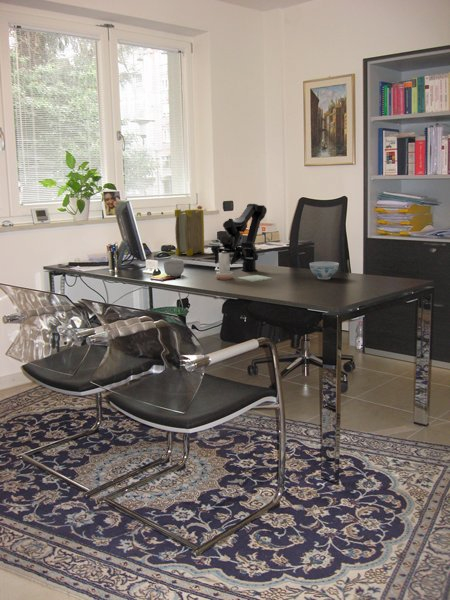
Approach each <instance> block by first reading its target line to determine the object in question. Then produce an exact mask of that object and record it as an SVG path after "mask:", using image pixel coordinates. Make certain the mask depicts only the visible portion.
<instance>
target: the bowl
mask: <svg viewBox="0 0 450 600" xmlns="http://www.w3.org/2000/svg"><path fill="white" fill-rule="evenodd" d="M215 278H217V280H222V281H225V280H231V279H233V278H234V273H233V274H231V275H217V274H215Z"/></svg>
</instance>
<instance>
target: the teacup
mask: <svg viewBox="0 0 450 600" xmlns="http://www.w3.org/2000/svg"><path fill="white" fill-rule="evenodd" d="M184 264H185V263H184V260H183V259H182V260H181V259H174V260H173V259H172V260H166V261H164V262H163V271H164V273H165V275H167V276H168V275H170V276H174V277H180V276H181V275H183V273H184V271H185V267H184V266H185V265H184ZM170 276H169V277H170Z"/></svg>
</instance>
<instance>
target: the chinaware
mask: <svg viewBox="0 0 450 600" xmlns="http://www.w3.org/2000/svg"><path fill="white" fill-rule="evenodd" d="M339 265H340V263H339V262H336V261H313V262H309V268H310V271H311V273H312V274H313V275H314V276H316V277H317V279H318V280H330V279H331V278H332V277H333V276H334V275H335V274H336V273H337V272H338V269H339Z"/></svg>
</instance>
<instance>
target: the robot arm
mask: <svg viewBox="0 0 450 600" xmlns="http://www.w3.org/2000/svg"><path fill="white" fill-rule="evenodd" d="M266 214H267V207H266V206H265V205H262V204H261V205H260V204H256V203H248V204H247V205H246V207H245V209H244V211H243V212H242V213H241V215H240V216H239V217H237V218H236V219H235V220H234V219H233V218H228V220H225V221H224V222H223V224H222V227H223V228H224V231H225V232H226V234H227V235H229V236H220V240H219V243H220V244H222V248H221V246H220V245H212V246H211V248H210V250H211V252H212V254H213V255H214V264H215V265H216V264H218V263H219V253H222V251H227V253H229V254H233V256H232V259H231V260H230V265H231V266H233V264H235V263H236V262H238V261H239V260H241V261H243V262H242V269H241V272H248V273H249V272H255V271H256V272H257V271H258V269H256V267H257V266H256V261H258V259H259V255H258V253H257V251H256V250H257V248H256V244H255V243H256V240H257V236H258V231H259V229H260V224H261V221H263V219H264V218H265V216H266ZM250 219H251V221H250ZM249 221H250V225H249V228H248V222H249ZM247 228H248V233H247V236H246V240H245V241H244V242H241V245H240V246H239V245H238V243H239V241H240V240H243V238H242V235H241V233H245V232H246V231H247Z"/></svg>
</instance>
